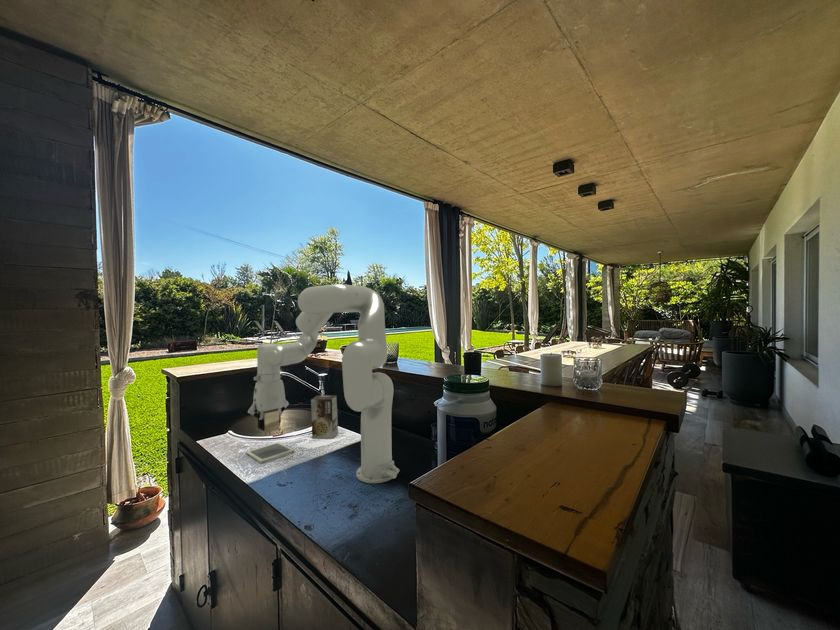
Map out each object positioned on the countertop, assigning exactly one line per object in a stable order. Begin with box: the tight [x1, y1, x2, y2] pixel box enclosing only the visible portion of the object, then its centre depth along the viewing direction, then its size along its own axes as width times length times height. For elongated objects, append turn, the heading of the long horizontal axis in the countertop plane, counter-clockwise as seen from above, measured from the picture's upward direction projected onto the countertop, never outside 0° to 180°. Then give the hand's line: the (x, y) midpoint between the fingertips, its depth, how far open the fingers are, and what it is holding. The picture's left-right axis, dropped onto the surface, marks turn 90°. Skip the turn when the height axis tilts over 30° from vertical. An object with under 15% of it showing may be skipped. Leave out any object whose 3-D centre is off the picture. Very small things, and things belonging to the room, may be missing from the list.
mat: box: [245, 441, 295, 464], centre depth 124 cm, size 12×12×1 cm
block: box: [259, 409, 280, 434], centre depth 124 cm, size 5×5×7 cm
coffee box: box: [310, 394, 339, 439], centre depth 141 cm, size 9×6×16 cm
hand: (269, 427), depth 124 cm, fingers closed on block, 5 cm apart
